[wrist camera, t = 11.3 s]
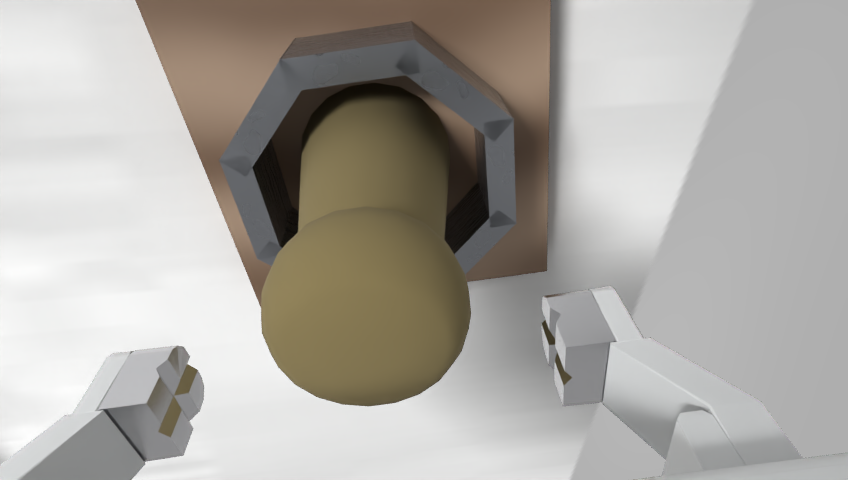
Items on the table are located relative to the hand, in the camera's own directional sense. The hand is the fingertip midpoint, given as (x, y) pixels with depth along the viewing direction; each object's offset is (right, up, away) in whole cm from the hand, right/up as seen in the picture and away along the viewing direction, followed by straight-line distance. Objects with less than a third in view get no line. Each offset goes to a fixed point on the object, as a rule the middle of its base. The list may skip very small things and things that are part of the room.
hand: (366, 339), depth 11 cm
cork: (-1, +6, +9) cm, 11 cm away
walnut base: (-1, +6, +10) cm, 12 cm away
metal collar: (-1, +6, +9) cm, 11 cm away
